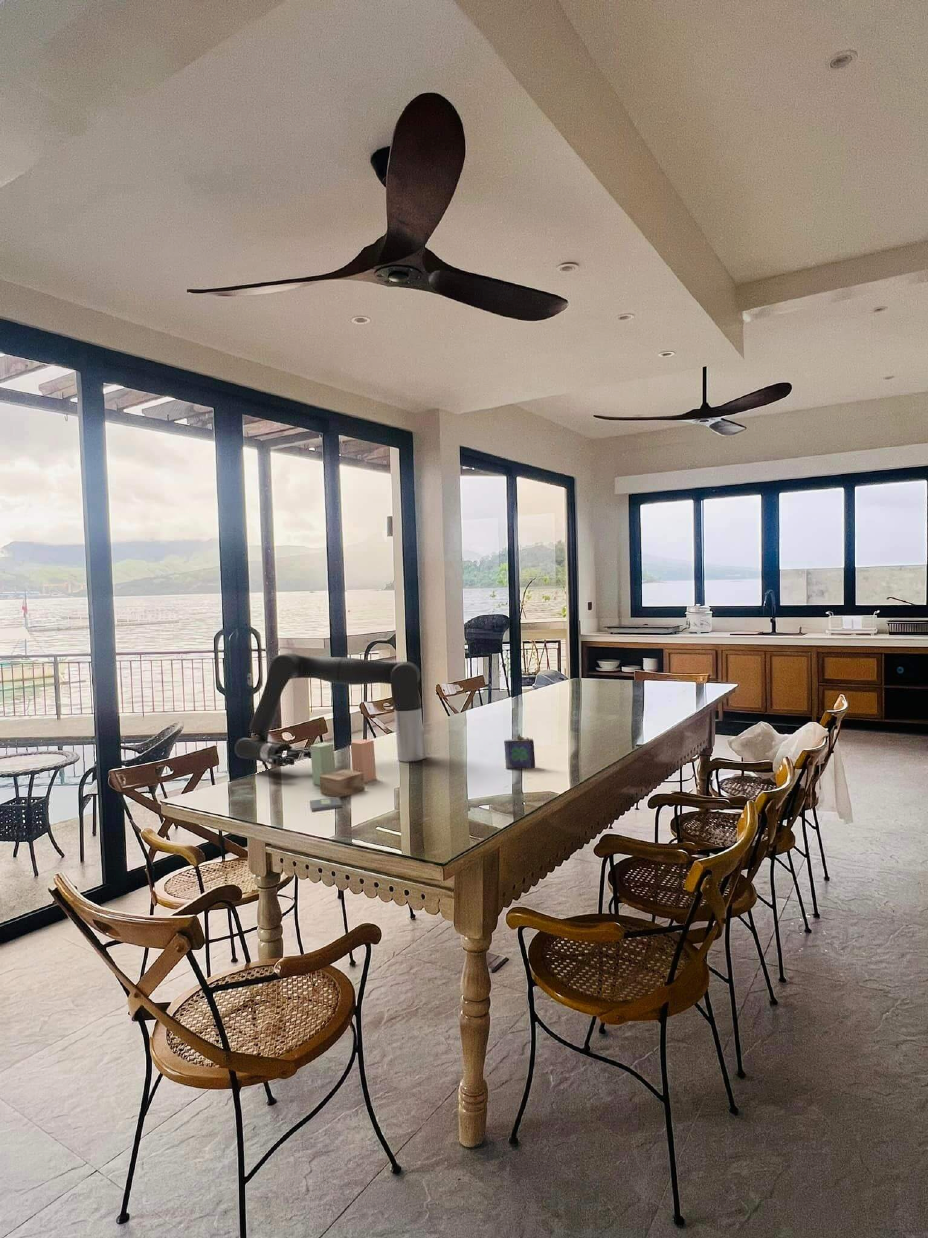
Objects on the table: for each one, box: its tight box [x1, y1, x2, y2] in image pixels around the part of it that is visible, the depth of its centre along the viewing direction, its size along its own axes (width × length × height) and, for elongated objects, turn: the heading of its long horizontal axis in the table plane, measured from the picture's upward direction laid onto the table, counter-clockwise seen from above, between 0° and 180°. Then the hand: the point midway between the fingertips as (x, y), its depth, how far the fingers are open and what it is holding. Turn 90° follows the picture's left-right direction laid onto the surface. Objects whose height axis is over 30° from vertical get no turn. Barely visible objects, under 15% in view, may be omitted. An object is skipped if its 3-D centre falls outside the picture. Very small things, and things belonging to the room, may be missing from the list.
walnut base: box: [319, 769, 365, 798], centre depth 209 cm, size 9×9×5 cm
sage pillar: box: [309, 741, 336, 786], centre depth 220 cm, size 5×5×12 cm
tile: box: [309, 796, 343, 812], centre depth 196 cm, size 8×8×1 cm
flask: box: [503, 732, 536, 770], centre depth 222 cm, size 9×3×11 cm, turn 79°
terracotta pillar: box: [350, 738, 377, 784], centre depth 221 cm, size 5×5×12 cm
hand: (304, 758), depth 227 cm, fingers open, 8 cm apart
